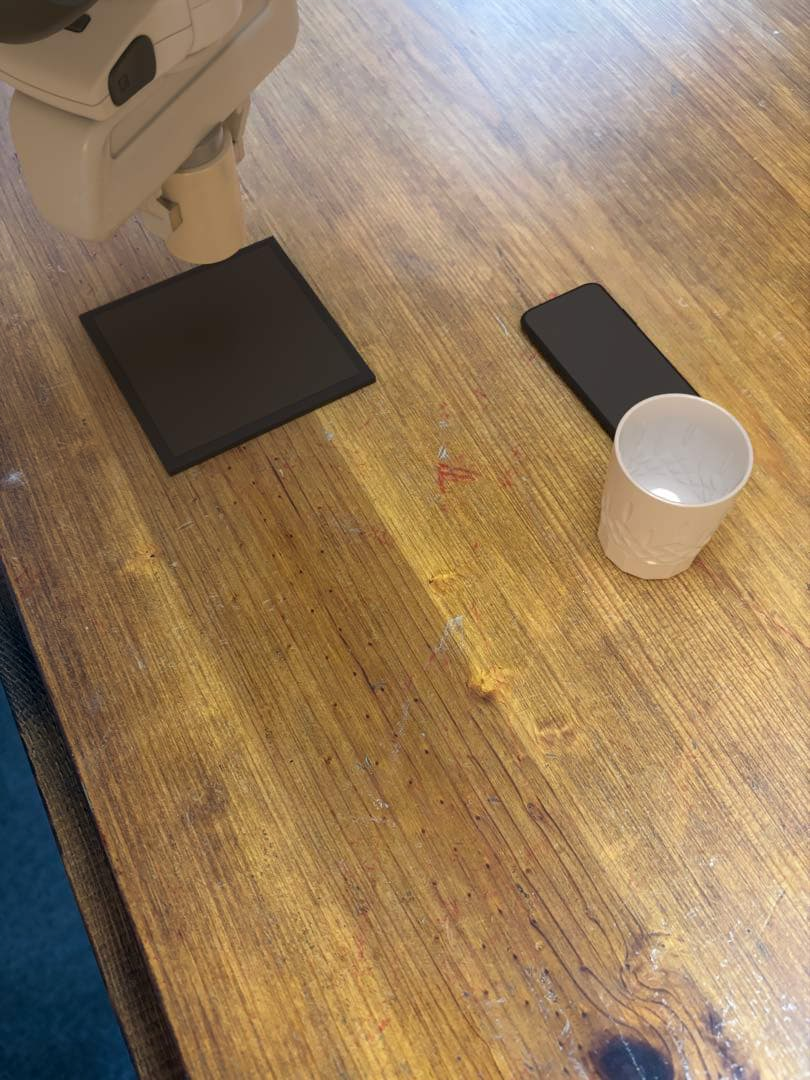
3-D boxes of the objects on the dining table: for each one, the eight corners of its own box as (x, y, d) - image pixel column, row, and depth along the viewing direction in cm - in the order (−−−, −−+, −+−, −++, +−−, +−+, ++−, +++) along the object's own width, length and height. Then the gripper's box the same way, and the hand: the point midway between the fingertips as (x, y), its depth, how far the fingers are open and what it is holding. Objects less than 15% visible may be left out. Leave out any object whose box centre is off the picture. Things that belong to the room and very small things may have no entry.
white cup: (562, 529, 70) (586, 440, 61) (646, 464, 72) (680, 371, 63) (650, 612, 67) (688, 531, 58) (734, 542, 69) (782, 455, 60)
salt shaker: (185, 276, 65) (158, 169, 58) (150, 223, 67) (120, 113, 60) (261, 245, 66) (244, 136, 59) (225, 194, 68) (204, 83, 61)
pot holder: (170, 477, 71) (168, 471, 71) (80, 320, 78) (77, 314, 78) (376, 381, 76) (376, 375, 75) (273, 240, 82) (272, 234, 82)
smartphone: (638, 463, 71) (514, 314, 77) (635, 471, 72) (512, 322, 78) (724, 418, 73) (596, 276, 79) (720, 426, 74) (594, 284, 80)
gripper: (216, -145, 57) (248, 80, 69) (-40, 70, 48) (47, 285, 60) (316, -112, 56) (331, 112, 68) (70, 116, 47) (138, 327, 59)
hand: (196, 195), depth 64 cm, fingers closed on salt shaker, 5 cm apart
